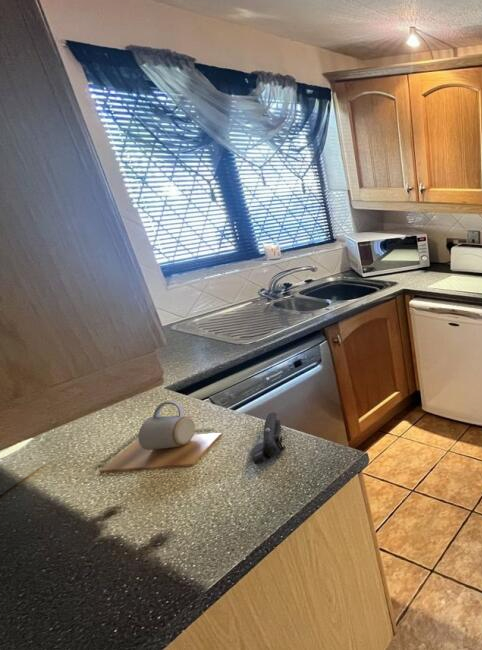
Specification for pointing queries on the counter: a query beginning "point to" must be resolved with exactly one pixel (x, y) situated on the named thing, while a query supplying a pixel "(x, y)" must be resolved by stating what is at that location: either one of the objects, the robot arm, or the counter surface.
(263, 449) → the can opener
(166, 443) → the ceramic mug
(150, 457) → the oak board
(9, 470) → the counter surface
